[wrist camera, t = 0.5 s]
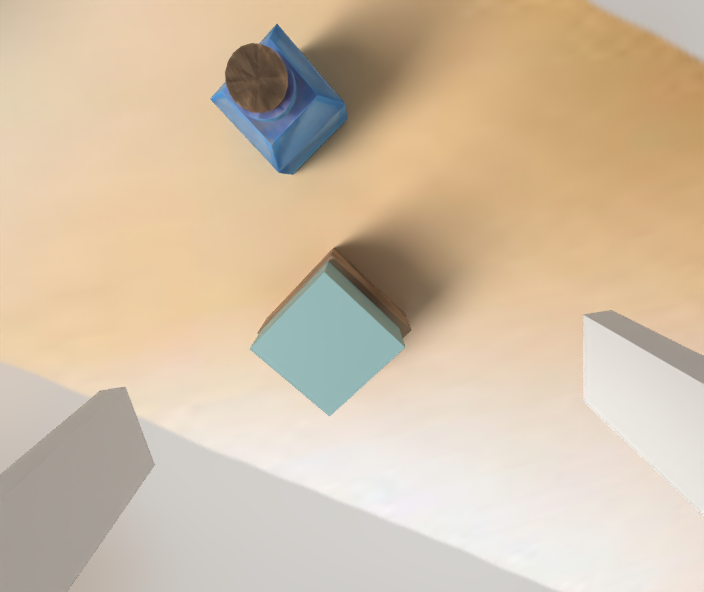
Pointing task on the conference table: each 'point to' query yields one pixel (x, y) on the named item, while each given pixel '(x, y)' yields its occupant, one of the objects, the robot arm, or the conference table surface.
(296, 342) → the teal slab
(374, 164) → the conference table surface
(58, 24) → the conference table surface
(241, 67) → the perfume bottle
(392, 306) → the walnut slab
